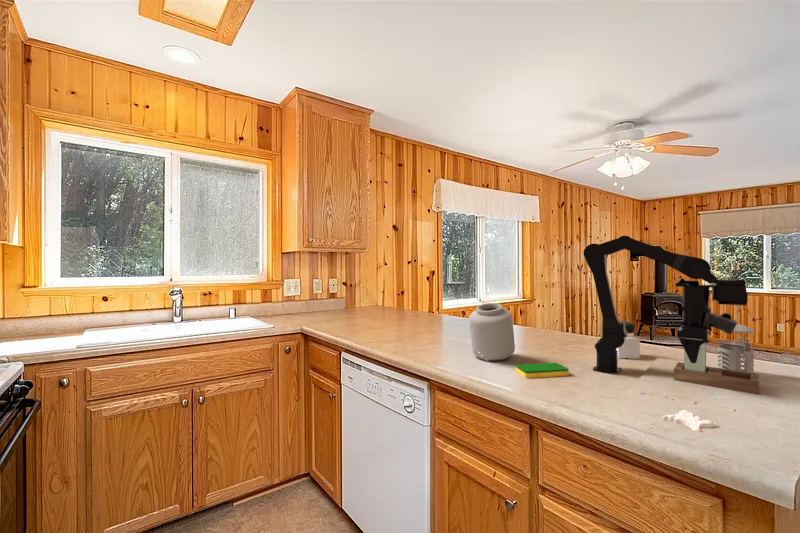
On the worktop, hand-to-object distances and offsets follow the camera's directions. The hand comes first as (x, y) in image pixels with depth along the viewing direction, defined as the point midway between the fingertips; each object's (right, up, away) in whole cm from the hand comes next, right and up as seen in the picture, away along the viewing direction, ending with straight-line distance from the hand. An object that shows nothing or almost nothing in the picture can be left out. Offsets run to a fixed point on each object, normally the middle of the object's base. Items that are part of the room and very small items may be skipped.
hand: (695, 359), depth 103 cm
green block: (0, -6, 0) cm, 6 cm away
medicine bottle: (-3, -6, +29) cm, 29 cm away
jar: (-50, -7, +28) cm, 57 cm away
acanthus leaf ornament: (-20, -8, -25) cm, 33 cm away
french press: (+16, -7, +5) cm, 18 cm away
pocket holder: (+3, -7, -3) cm, 8 cm away
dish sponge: (-39, -7, +10) cm, 41 cm away
